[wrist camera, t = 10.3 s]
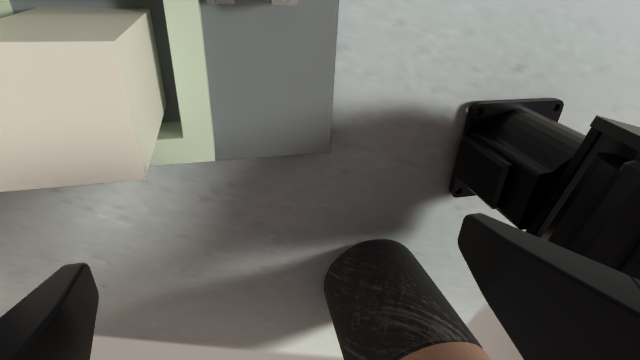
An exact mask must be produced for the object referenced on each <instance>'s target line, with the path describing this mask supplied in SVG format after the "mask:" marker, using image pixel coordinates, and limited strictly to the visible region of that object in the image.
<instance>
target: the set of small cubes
mask: <svg viewBox="0 0 640 360" xmlns="http://www.w3.org/2000/svg"><path fill="white" fill-rule="evenodd" d="M206 1H207V3H213V4H234V0H206ZM266 1H267V2H269V3H270V4H271V5H297V0H266Z"/></svg>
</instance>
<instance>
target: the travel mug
mask: <svg viewBox="0 0 640 360" xmlns="http://www.w3.org/2000/svg"><path fill="white" fill-rule="evenodd" d="M324 292H325V297H326V301H327V304H328V308H329V311H330V314H331V318H332V321H333V324H334V328H335V331H336V334H337V338H338V341H339V344H340V348H341V351H342V354H343V358H344V360H491V359H490V358H489V356H488V355H487V353H486V352H485V351H484V350H483V348H482V346H481V345H480V344H479V342H478V341H477V340H476V338H475V337H474V336H473V334H472V333H471V332H470V331H469V329H468V328H467V326H466V325H465V324H464V322H463V321H462V320H461V318H460V317H459V316H458V314H457V313H456V311H455V310H454V309H453V307H452V306H451V305H450V303H449V302H448V301H447V299H446V298H445V297H444V295H443V294H442V293H441V291H440V290H439V289H438V287H437V286H436V285H435V283H434V282H433V281H432V279H431V278H430V277H429V275H428V274H427V273H426V271H425V270H424V269H423V267H422V266H421V265H420V263H419V262H418V261H417V259H416V258H415V257H414V255H413V254H412V253H411V252H410V251H409V250H408V249H407V248H406V247H405V246H404V245H402V244H400V243H398V242H395V241H392V240H383V239H382V240H372V241H368V242H364V243H361V244H359V245H356V246H354V247H352V248H351V249H349V250H347V251H346V252H345V253H343V254H342V255H341V256H340V257H339V258H337V259H336V261H335V262H334V263H333V264H332V265H331V267H330V268H329V270H328V272H327V274H326V277H325V281H324Z"/></svg>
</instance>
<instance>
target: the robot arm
mask: <svg viewBox="0 0 640 360" xmlns="http://www.w3.org/2000/svg"><path fill="white" fill-rule="evenodd" d="M554 106H555V107H554ZM563 106H564V104H563V102H562V101H561V100H559V99H556V98H548V99H525V100H502V101H479V102H475V103H473V104H472V105H471V106H470V108H469V111H468V115H467V119H466V123H465V127H464V131H463V135H462V139H461V142H460V146H459V150H458V154H457V158H456V162H455V166H454V170H453V175H452V179H451V183H450V187H449V192H450V194H451V195H452V196H454V197H466V196H475V195H477V196H478V197H479V198H480V199H481V200H482V201H484V202H485V203H486V204H487V205H488V206H489V207H490V208H492V209H497V210H498V211H499V212H500V213H501V214H502V215H503V216H505V217H506V218H507V219H508V220H509V221H510V222H511V223H512V224H514V225H515V226H516V227H517V228H518V229H517V228H515V227H513V226H510V225H508V224H506V223H503V222H501V221H499V220H496V219H494V218H491V217H489V216H487V215H484V214H481V213H477V214H469V215H467V216H465V218H464V219H463V223H462V226H461V230H460V233H459V237H458V246H459V249H460V251H461V253H462V255H463V257H464V259H465V261H466V263H467V265H468V267H469V269H470V271H471V273H472V275H473V277H474V279H475V281H476V282H477V284H478V286H479V288H480V290H481V292H482V294H483V296H484V298H485V299H486V301H487V302H488V304H489V306H490V307H491V309H492V310H493V312H494V313H495V315H496V317H497V318H498V320H499V321H500V323H501V324H502V326H503V327H504V329H505V331H506V332H507V334H508V335H509V337H510V338H511V340H512V341H513V343H514V345H515V346H516V348H517V349H518V351H519V353H520V354H521V356H522V357H523V359H524V360H640V127H637V126H633V125H629V124H626V123H622V122H619V121H615V120H611V119H608V118H604V117H600V116H597V115H596V117H595V118H594V120H593V122H592V123H591V125H590V126H591V129H590V130H589V132H588V133H587V135H586V136H585V135H583V134H581V133H579V132H577V131H575V130H573V129H571V128H568V127H566V126H564V125H562V124H560V123H558V120H559V117H560V115H561V112H562V109H563ZM479 108H480V110H479V112H478V113H476V112H477V110H478V109H479ZM458 188H459V189H458ZM457 189H458V190H457ZM456 190H457V191H456ZM524 229H526V231H522V230H524ZM98 299H99V296H98V290H97V287H96V284H95V281H94V278H93V275H92V273H91V270H90V267H89V266H88V264H86V263H76V264H68V265H64V266H63V267H61V268H60V269H59V270H57V271H56V272H55V273H54V274H53V275H51V276H50V277H49V278H48V279H47V280H45V281H44V282H43V283H42V284H41V285H39V286H38V287H37V288H36V289H34V290H33V291H32V292H31V293H30V294H28V295H27V296H26V297H25V298H24V299H22V300H21V301H20V302H19V303H18V304H16V305H15V306H14V307H13V308H11V309H10V310H9V311H8V312H7V313H5V314H4V315H3V316H2V317H1V318H0V360H90V354H91V348H92V341H93V334H94V327H95V321H96V314H97V307H98Z"/></svg>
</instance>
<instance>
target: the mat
mask: <svg viewBox="0 0 640 360" xmlns="http://www.w3.org/2000/svg"><path fill="white" fill-rule="evenodd" d="M9 1H10V4H11V7H12V10H13V13H14V14H17V13H20V12H23V11H27V10H30V9H33V8H37V7H47V8H130V9H150V11H151V17H152V23H153V28H154V34H155V40H156V46H157V52H158V57H159V63H160V69H161V75H162V81H163V87H164V92H165V98H166V108H165V111H164V115H163V119H162V122H180V121H181V118H180V111H179V104H178V98H177V91H176V84H175V78H174V71H173V64H172V57H171V51H170V44H169V37H168V30H167V24H166V17H165V10H164V4H163V0H9ZM338 9H339V0H297V5H271V4H270V3H269V2H267V1H266V0H234V4H213V3H207V1H206V0H200V10H201V19H202V29H203V38H204V48H205V57H206V67H207V76H208V86H209V96H210V105H211V115H212V124H213V134H214V144H215V161H219V160H233V159H247V158H260V157H274V156H288V155H302V154H316V153H329V152H330V137H331V121H332V105H333V89H334V73H335V57H336V41H337V25H338Z"/></svg>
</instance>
